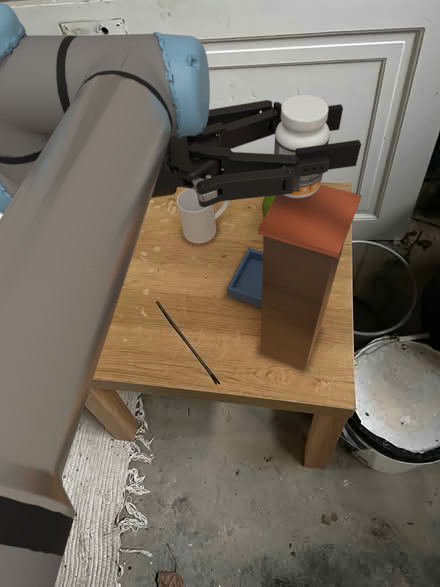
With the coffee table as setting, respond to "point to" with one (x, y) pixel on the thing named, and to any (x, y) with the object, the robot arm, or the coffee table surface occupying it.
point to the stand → (301, 269)
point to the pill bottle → (302, 135)
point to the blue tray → (248, 279)
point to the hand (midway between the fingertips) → (347, 134)
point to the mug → (197, 217)
